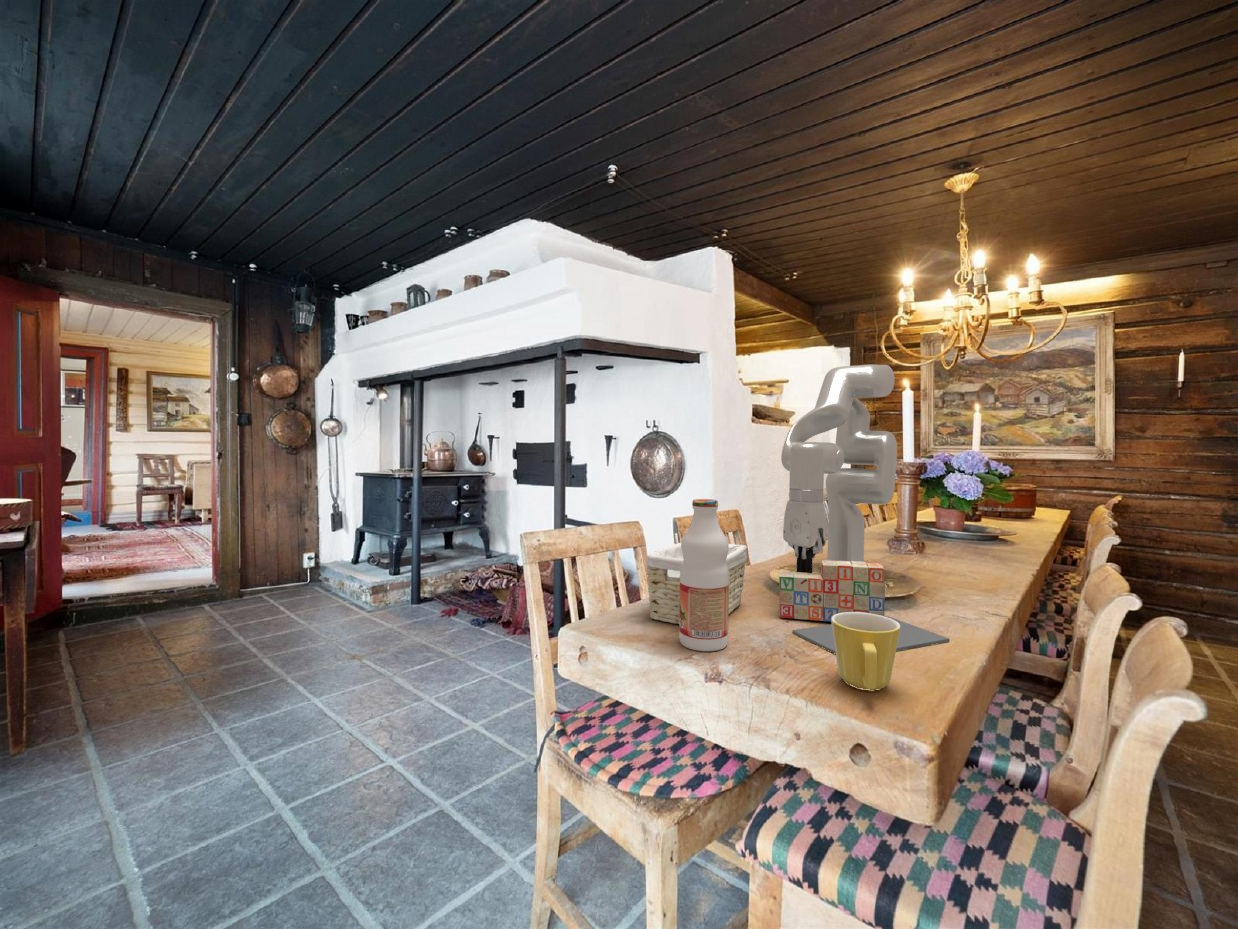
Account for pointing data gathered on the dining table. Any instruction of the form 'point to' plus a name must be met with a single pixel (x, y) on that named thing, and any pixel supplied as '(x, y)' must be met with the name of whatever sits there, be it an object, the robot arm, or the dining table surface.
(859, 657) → the mug
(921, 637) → the rubber mat
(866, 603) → the stack of blocks
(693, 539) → the fruit juice
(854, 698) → the dining table surface
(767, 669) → the dining table surface
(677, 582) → the storage basket
